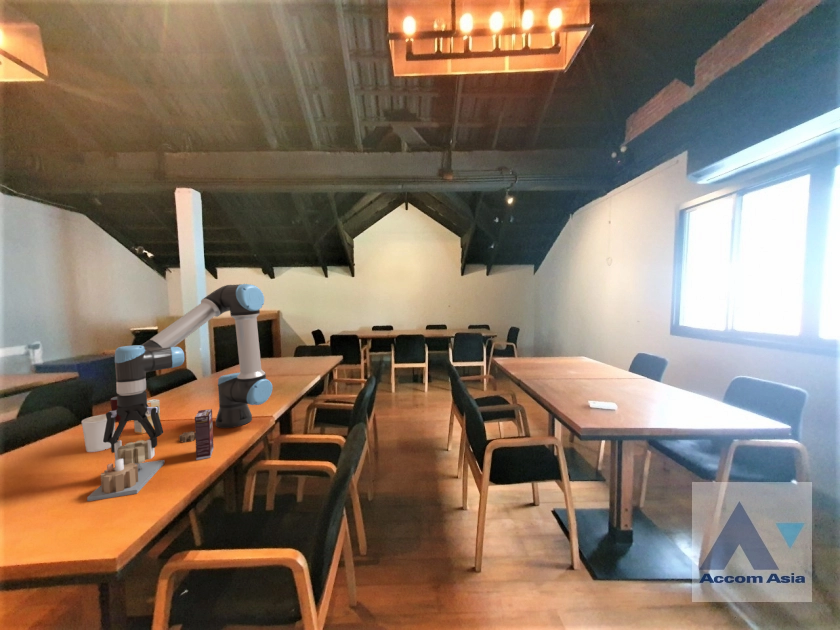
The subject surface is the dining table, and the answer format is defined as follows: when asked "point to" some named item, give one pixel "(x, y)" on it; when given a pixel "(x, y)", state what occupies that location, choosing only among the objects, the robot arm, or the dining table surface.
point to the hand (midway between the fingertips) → (135, 459)
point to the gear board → (136, 488)
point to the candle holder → (95, 433)
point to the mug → (115, 407)
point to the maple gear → (134, 452)
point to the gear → (187, 437)
